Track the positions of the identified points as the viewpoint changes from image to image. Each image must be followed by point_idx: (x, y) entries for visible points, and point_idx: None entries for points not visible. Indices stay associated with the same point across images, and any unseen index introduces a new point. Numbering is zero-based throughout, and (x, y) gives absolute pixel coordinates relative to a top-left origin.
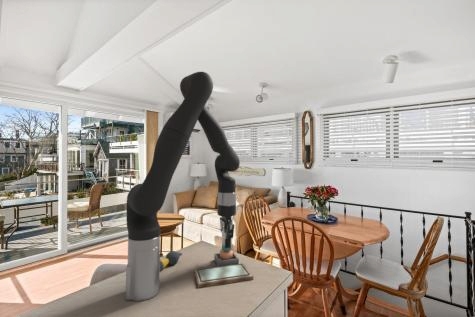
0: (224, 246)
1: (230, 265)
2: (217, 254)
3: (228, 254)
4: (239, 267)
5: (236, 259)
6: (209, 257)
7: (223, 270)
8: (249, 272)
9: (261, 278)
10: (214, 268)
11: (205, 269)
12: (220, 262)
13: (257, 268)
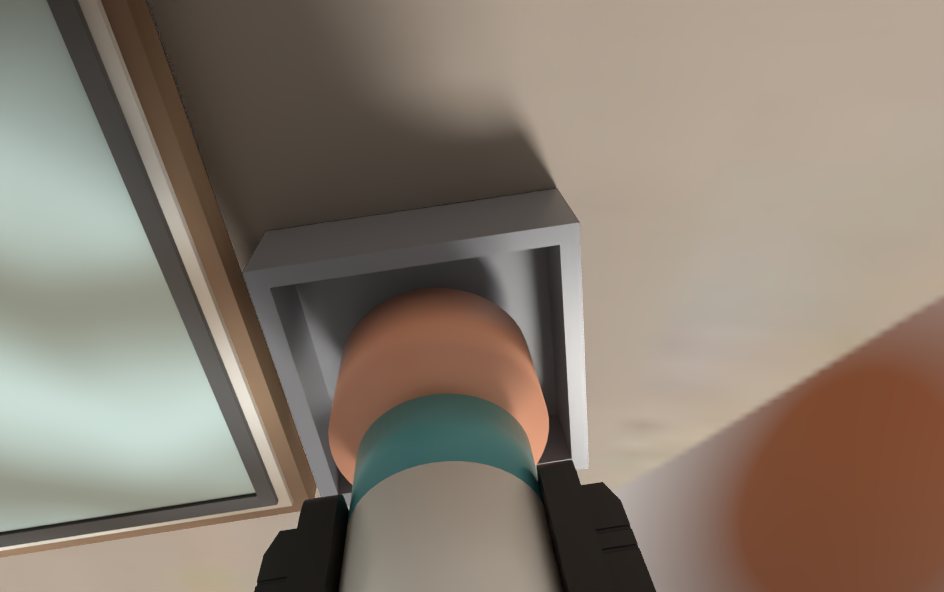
0: (363, 488)
1: (216, 392)
2: (560, 265)
3: (335, 446)
4: (171, 474)
5: (317, 485)
6: (668, 117)
7: (51, 299)
8: (73, 539)
9: (37, 587)
10: (106, 180)
11: (44, 25)
12: (253, 287)
13: (255, 584)
